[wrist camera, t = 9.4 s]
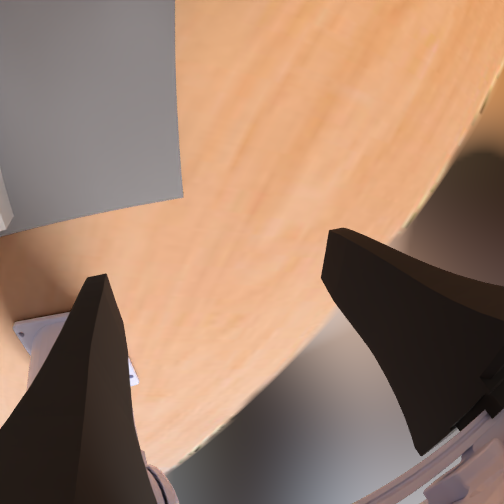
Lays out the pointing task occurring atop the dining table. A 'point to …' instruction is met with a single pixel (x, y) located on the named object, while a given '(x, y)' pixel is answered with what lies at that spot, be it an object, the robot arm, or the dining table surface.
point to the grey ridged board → (86, 109)
